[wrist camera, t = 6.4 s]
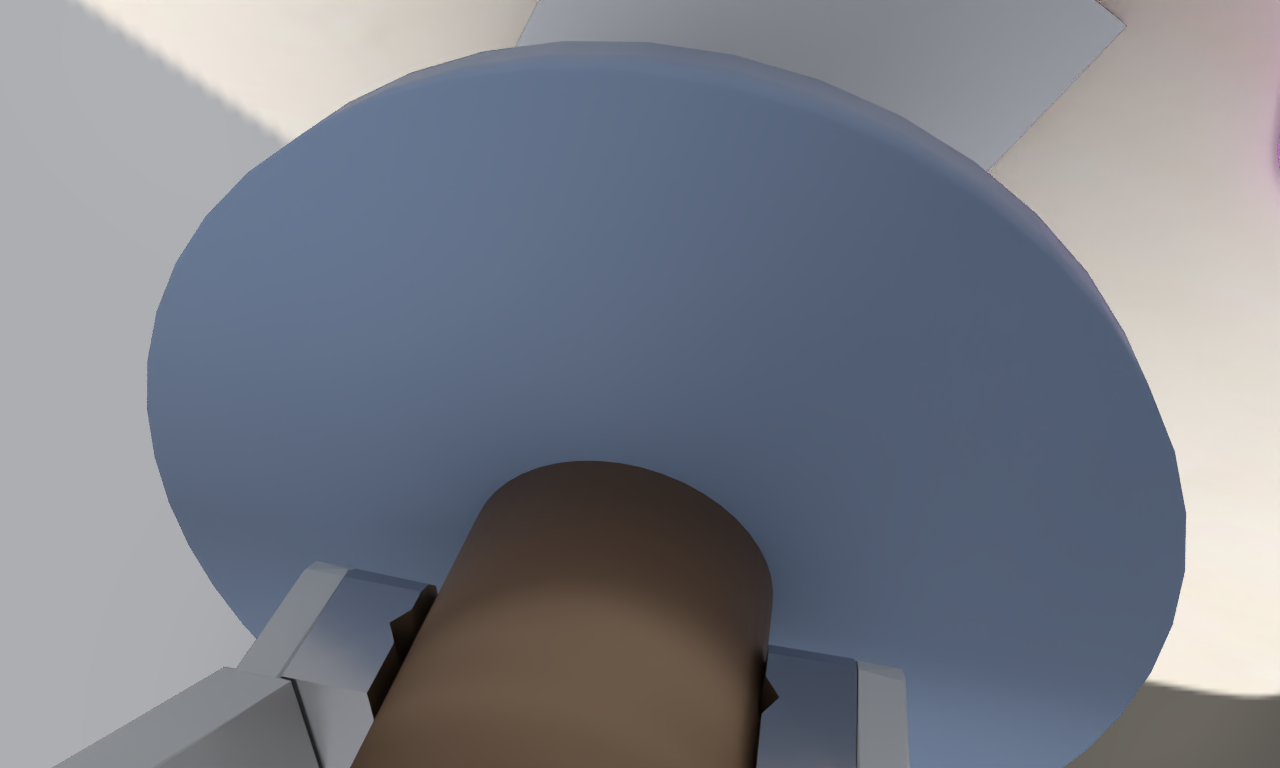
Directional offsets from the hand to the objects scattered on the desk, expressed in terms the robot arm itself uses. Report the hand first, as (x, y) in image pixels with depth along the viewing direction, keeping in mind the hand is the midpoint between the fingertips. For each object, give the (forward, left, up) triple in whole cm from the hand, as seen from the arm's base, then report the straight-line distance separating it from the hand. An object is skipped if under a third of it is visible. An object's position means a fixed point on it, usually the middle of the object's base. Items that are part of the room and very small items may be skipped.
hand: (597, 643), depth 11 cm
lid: (0, 0, -2) cm, 2 cm away
